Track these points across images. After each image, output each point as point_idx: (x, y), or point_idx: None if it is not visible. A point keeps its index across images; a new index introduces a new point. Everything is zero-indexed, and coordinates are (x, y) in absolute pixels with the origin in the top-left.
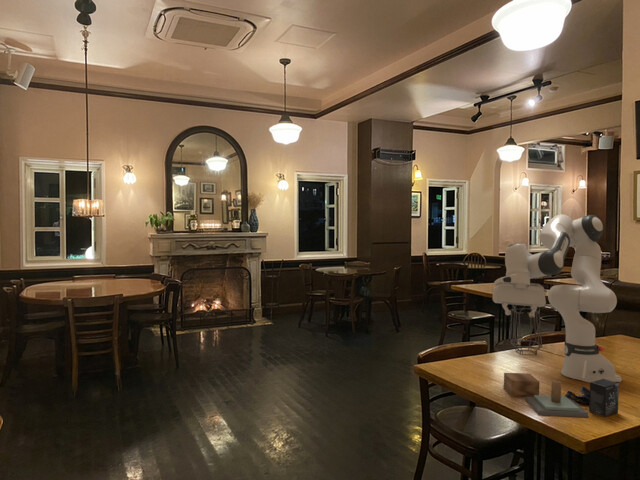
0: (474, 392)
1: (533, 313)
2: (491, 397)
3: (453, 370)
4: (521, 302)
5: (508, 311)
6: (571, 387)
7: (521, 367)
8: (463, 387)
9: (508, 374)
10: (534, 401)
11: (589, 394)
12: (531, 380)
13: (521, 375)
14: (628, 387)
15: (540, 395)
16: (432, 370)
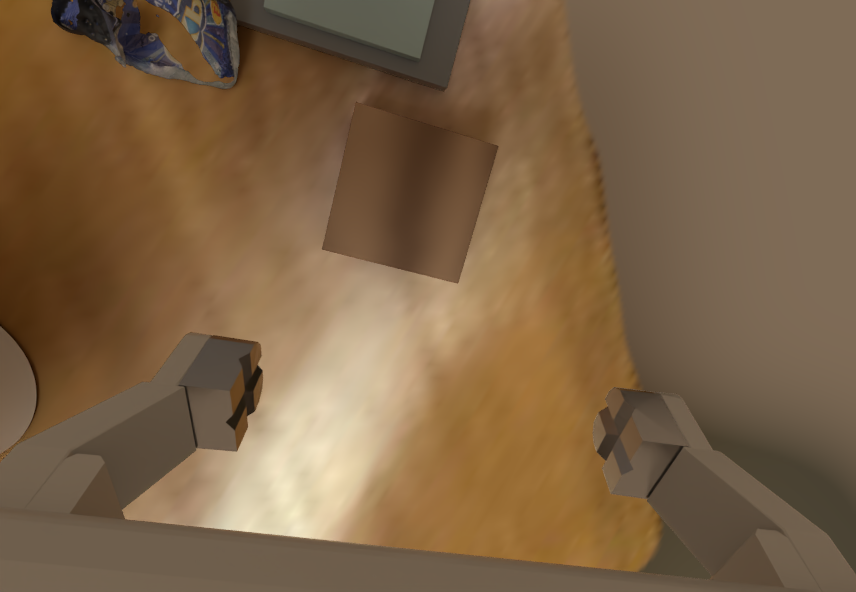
0: (607, 228)
1: (184, 367)
2: (571, 158)
3: (543, 498)
4: (446, 573)
5: (677, 422)
6: (98, 223)
7: (198, 519)
8: (618, 292)
9: (453, 249)
10: (444, 16)
11: (101, 11)
12: (385, 134)
13: (391, 224)
14: None
15: (390, 45)
16: (629, 503)
